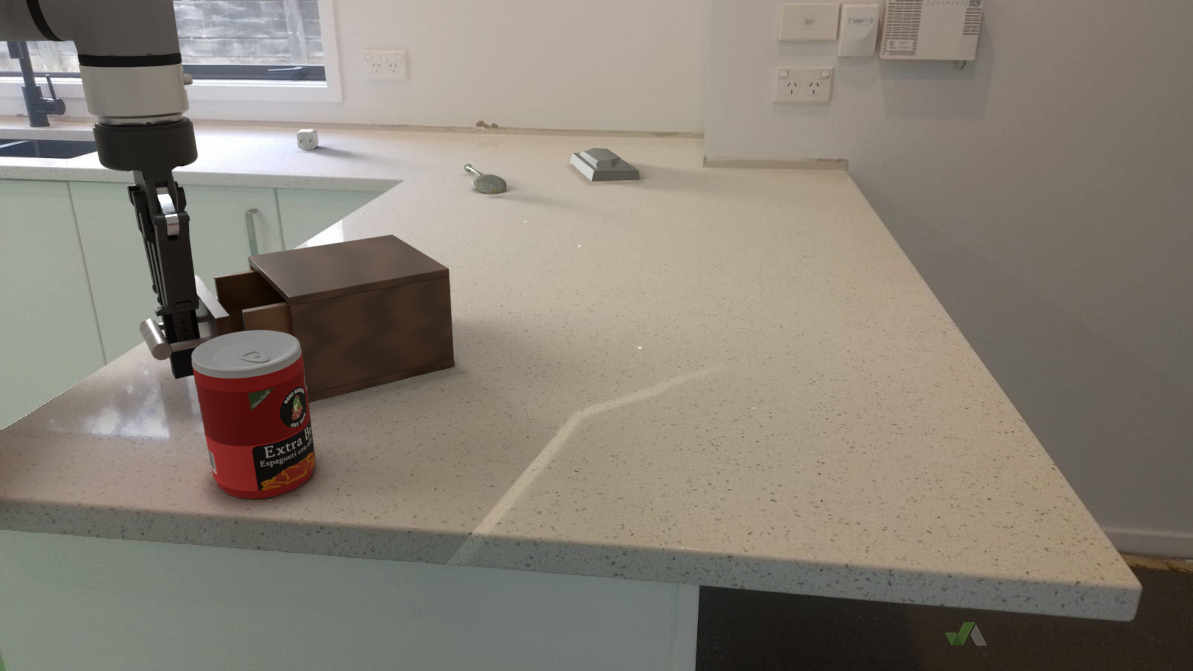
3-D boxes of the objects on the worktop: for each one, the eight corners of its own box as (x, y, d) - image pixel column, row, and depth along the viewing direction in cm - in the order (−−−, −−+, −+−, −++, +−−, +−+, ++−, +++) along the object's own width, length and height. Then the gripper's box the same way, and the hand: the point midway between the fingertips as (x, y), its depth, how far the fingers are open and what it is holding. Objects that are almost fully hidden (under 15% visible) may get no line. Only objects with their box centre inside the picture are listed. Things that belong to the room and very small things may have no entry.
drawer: (169, 423, 73) (150, 330, 69) (144, 369, 83) (127, 285, 80) (384, 372, 83) (376, 288, 80) (338, 329, 93) (330, 253, 90)
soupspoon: (476, 198, 158) (510, 197, 160) (476, 181, 157) (510, 180, 159) (453, 171, 177) (483, 171, 179) (453, 155, 175) (484, 155, 178)
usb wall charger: (318, 145, 203) (316, 129, 201) (313, 151, 197) (311, 133, 195) (301, 145, 202) (299, 129, 201) (295, 151, 196) (293, 133, 195)
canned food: (274, 510, 63) (253, 377, 59) (190, 488, 65) (164, 359, 61) (337, 460, 69) (322, 338, 65) (259, 442, 72) (240, 323, 68)
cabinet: (303, 403, 79) (289, 297, 75) (261, 351, 90) (247, 256, 86) (454, 366, 87) (449, 268, 83) (399, 322, 98) (392, 234, 94)
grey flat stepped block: (591, 181, 171) (591, 164, 169) (569, 162, 189) (569, 146, 187) (639, 179, 173) (640, 162, 172) (613, 160, 191) (614, 145, 190)
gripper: (207, 124, 67) (249, 389, 76) (175, 105, 77) (215, 341, 86) (101, 131, 63) (158, 410, 72) (82, 110, 73) (134, 358, 82)
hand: (189, 372), depth 79 cm, fingers closed
